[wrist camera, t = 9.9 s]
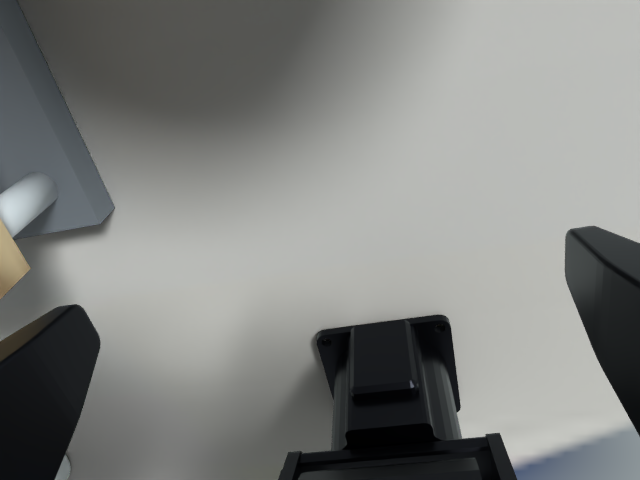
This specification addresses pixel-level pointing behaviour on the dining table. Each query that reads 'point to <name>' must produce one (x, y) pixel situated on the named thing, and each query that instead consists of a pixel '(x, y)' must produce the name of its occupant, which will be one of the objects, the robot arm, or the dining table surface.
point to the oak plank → (10, 262)
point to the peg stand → (40, 143)
